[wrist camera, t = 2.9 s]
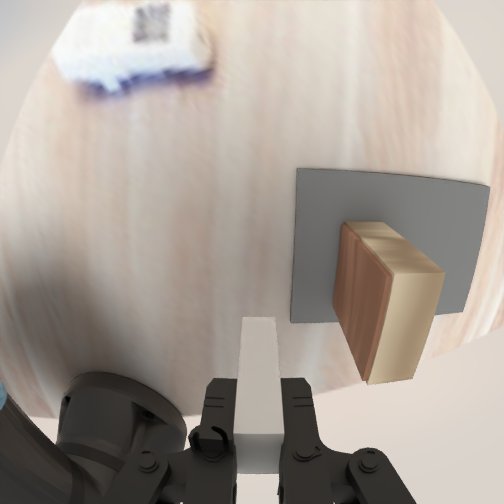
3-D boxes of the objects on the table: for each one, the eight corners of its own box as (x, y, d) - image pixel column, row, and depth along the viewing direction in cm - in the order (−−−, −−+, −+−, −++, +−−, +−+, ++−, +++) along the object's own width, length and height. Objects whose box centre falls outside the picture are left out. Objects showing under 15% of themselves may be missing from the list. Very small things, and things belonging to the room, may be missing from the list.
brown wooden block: (331, 306, 24) (362, 385, 16) (340, 220, 22) (389, 274, 13) (370, 304, 24) (412, 378, 16) (382, 221, 22) (445, 272, 13)
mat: (290, 319, 26) (290, 323, 25) (296, 168, 21) (298, 169, 21) (459, 308, 25) (462, 312, 25) (486, 185, 21) (490, 187, 21)
